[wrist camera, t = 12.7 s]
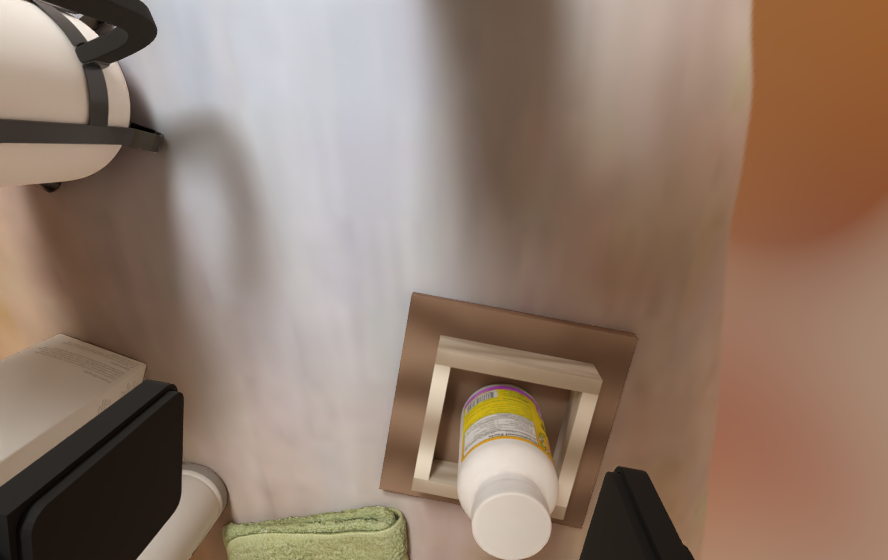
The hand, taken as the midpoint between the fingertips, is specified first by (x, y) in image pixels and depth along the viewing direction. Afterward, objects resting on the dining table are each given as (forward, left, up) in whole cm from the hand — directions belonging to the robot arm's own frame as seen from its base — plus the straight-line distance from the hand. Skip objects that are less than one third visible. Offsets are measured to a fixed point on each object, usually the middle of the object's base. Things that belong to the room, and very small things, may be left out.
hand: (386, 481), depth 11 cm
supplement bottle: (+13, +7, -29) cm, 32 cm away
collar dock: (+14, +7, -30) cm, 33 cm away
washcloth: (+33, -6, -30) cm, 45 cm away
